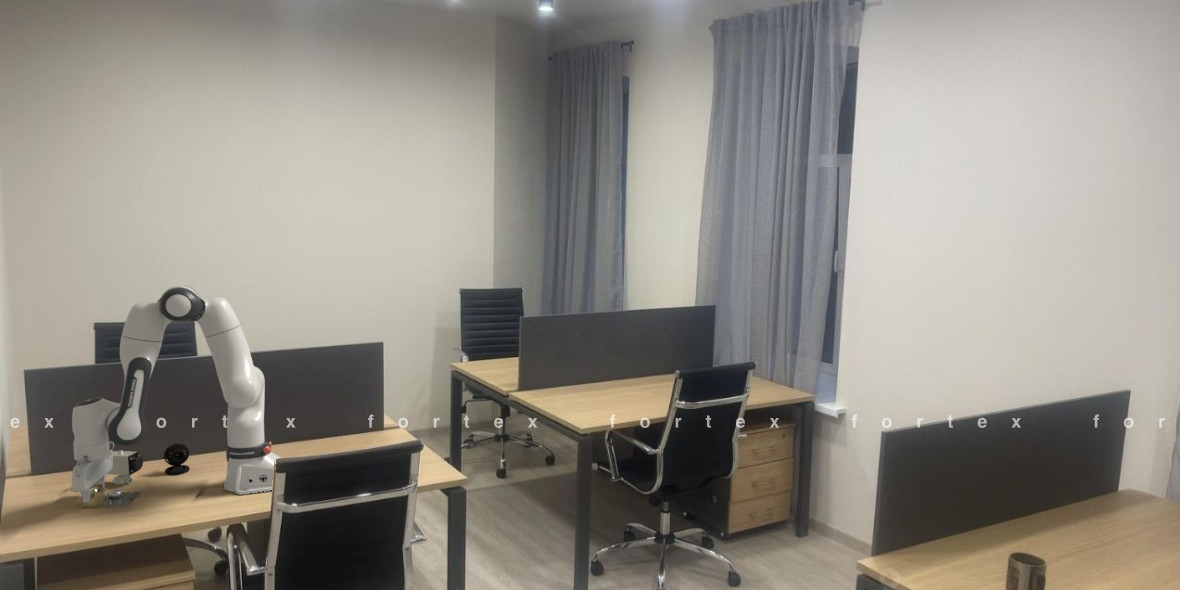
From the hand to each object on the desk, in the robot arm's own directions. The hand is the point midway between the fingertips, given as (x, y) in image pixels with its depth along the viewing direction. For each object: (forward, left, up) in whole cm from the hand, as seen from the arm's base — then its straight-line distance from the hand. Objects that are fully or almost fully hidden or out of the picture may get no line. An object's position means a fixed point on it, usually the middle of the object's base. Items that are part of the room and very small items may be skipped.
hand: (94, 495), depth 229 cm
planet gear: (0, 0, -2) cm, 2 cm away
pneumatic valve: (-2, -17, -4) cm, 18 cm away
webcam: (-15, -28, -4) cm, 32 cm away
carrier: (-4, -2, -4) cm, 6 cm away
